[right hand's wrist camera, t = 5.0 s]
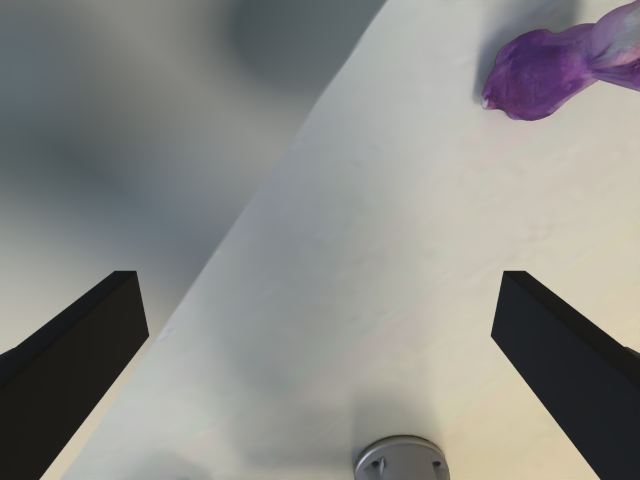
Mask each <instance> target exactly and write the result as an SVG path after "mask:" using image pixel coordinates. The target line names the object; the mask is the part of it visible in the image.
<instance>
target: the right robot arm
mask: <svg viewBox="0 0 640 480" xmlns="http://www.w3.org/2000/svg"><path fill="white" fill-rule="evenodd" d="M148 337H149V332H148V327H147V322H146V317H145V312H144V307H143V302H142V297H141V292H140V287H139V282H138V277H137V272H136V271H114V272H113V273H111V274H110V275H109V276H107V277H106V278H105V279H104V280H102V281H101V282H100V283H98V284H97V285H96V286H94V287H93V288H92V289H91V290H89V291H88V292H87V293H85V294H84V295H83V296H81V297H80V298H79V299H78V300H76V301H75V302H74V303H72V304H71V305H70V306H68V307H67V308H66V309H65V310H63V311H62V312H61V313H59V314H58V315H57V316H55V317H54V318H53V319H52V320H50V321H49V322H48V323H46V324H45V325H44V326H43V327H41V328H40V329H39V330H37V331H36V332H35V333H33V334H32V335H31V336H30V337H28V338H27V339H26V340H24V341H23V342H22V343H20V344H19V345H18V346H17V347H15V348H13V349H11V350H9V351H7V352H5V353H3V354H1V355H0V480H39V479H40V478H41V477H42V476H43V474H44V473H45V472H46V470H47V469H48V468H49V466H50V465H51V464H52V463H53V461H54V460H55V459H56V457H57V456H58V455H59V453H60V452H61V451H62V449H63V448H64V447H65V446H66V444H67V443H68V442H69V440H70V439H71V438H72V436H73V435H74V434H75V432H76V431H77V430H78V429H79V427H80V426H81V425H82V423H83V422H84V421H85V419H86V418H87V417H88V415H89V414H90V413H91V412H92V410H93V409H94V408H95V406H96V405H97V404H98V402H99V401H100V400H101V398H102V397H103V396H104V395H105V393H106V392H107V391H108V389H109V388H110V387H111V385H112V384H113V383H114V381H115V380H116V379H117V378H118V376H119V375H120V374H121V372H122V371H123V370H124V368H125V367H126V366H127V364H128V363H129V362H130V361H131V359H132V358H133V357H134V355H135V354H136V353H137V351H138V350H139V349H140V347H141V346H142V345H143V343H144V342H145V341H146V340H147V338H148ZM491 337H492V338H493V340H494V341H495V342H496V344H497V345H498V346H499V347H500V349H501V350H502V351H503V353H504V354H505V355H506V357H507V358H508V359H509V361H510V362H511V363H512V364H513V366H514V367H515V368H516V370H517V371H518V372H519V374H520V375H521V376H522V378H523V379H524V380H525V381H526V383H527V384H528V385H529V387H530V388H531V389H532V391H533V392H534V393H535V395H536V396H537V397H538V398H539V400H540V401H541V402H542V404H543V405H544V406H545V408H546V409H547V410H548V412H549V413H550V414H551V415H552V417H553V418H554V419H555V421H556V422H557V423H558V425H559V426H560V427H561V429H562V430H563V431H564V432H565V434H566V435H567V436H568V438H569V439H570V440H571V442H572V443H573V444H574V446H575V447H576V448H577V449H578V451H579V452H580V453H581V455H582V456H583V457H584V459H585V460H586V461H587V463H588V464H589V465H590V466H591V468H592V469H593V470H594V472H595V473H596V474H597V476H598V477H599V478H600V480H640V353H638V352H636V351H634V350H632V349H630V348H628V347H623V346H622V345H621V344H620V343H618V342H617V341H616V340H614V339H613V338H612V337H610V336H609V335H608V334H607V333H605V332H604V331H603V330H601V329H600V328H599V327H598V326H596V325H595V324H594V323H592V322H591V321H590V320H588V319H587V318H586V317H585V316H583V315H582V314H581V313H579V312H578V311H577V310H575V309H574V308H573V307H572V306H570V305H569V304H568V303H566V302H565V301H564V300H562V299H561V298H560V297H559V296H557V295H556V294H555V293H553V292H552V291H551V290H549V289H548V288H547V287H546V286H544V285H543V284H542V283H540V282H539V281H538V280H536V279H535V278H534V277H533V276H531V275H530V274H529V273H527V272H526V271H504V272H503V277H502V282H501V287H500V292H499V297H498V302H497V307H496V312H495V317H494V322H493V327H492V332H491ZM354 476H355V480H450V474H449V468H448V465H447V463H446V460H445V457H444V455H443V453H442V452H441V451H440V450H439V448H437V447H436V446H435V445H434V444H432V443H430V442H429V441H426V440H424V439H421V438H417V437H411V436H397V437H391V438H387V439H383V440H380V441H378V442H376V443H374V444H372V445H371V446H369V447H368V448H367V449H365V450H364V451H363V452H362V453H361V455H360V456H359V457H358V459H357V461H356V464H355V468H354Z"/></svg>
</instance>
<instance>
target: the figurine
mask: <svg viewBox="0 0 640 480" xmlns="http://www.w3.org/2000/svg"><path fill="white" fill-rule="evenodd" d="M598 80H601V81H605V82H608V83H612V84H615V85H619V86H622V87H626V88H629V89H632V90H636V91H639V92H640V0H636V1H634V2H632V3H630V4H627V5H624V6H621V7H618V8H616V9H614V10H612V11H611V12H609V13H607V14H606V15H605V16H603V17H602V18H601V19H600V20H599V21H598V22H597V23H596V24H595V23H585V24H579V25H576V26H573V27H571V28H569V29H567V30H565V31H563V32H561V33H559V34H553V33H551V32H550V31H549V30H547V29H540V30H534V31H531V32H528V33H525V34H523V35H521V36H519V37H518V38H516V39H515V40H513V41H511V42H510V43H509V44H507V45H506V46H504V47H503V48H502V49H501V50H500V51H499V53H498V55H497V59H496V66H495V68H494V69H493V71H492V72H491V74H490V76H489V78H488V80H487V83H486V85H485V87H484V90H483V92H482V96H481V106H482V108H483V109H485V110H493V109H500V110H503V111H505V112H506V113H507V115H508V116H509V118H511V119H513V120H526V121H534V120H539V119H542V118H545V117H547V116H550V115H551V114H553V113H554V112H555V111H556V110H557V109H559V108H560V107H561V106H562V105H563V104H564V103H565V102H566V101H568V100H569V99H570V98H572V97H573V96H574V95H576V94H577V93H579V92H581V91H582V90H584V89H585V88H587V87H589V86H590V85H592V84H593V83H595V82H597V81H598Z"/></svg>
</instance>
